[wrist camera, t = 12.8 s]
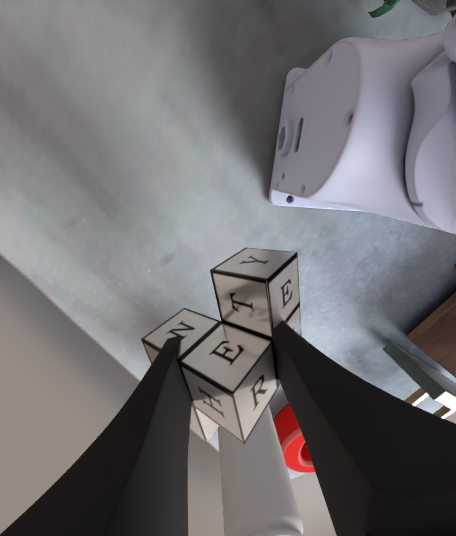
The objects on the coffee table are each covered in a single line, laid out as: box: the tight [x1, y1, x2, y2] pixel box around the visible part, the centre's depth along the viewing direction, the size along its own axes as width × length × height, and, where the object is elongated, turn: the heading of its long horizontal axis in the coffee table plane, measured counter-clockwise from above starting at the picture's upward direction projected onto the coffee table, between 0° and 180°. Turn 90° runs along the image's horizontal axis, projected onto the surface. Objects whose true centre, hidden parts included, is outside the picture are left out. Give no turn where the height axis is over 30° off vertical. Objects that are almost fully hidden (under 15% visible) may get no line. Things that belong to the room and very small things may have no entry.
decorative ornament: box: [274, 404, 315, 473], centre depth 27 cm, size 10×10×3 cm
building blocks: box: [141, 248, 301, 444], centre depth 11 cm, size 5×5×8 cm
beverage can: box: [218, 404, 303, 536], centre depth 18 cm, size 5×5×12 cm
